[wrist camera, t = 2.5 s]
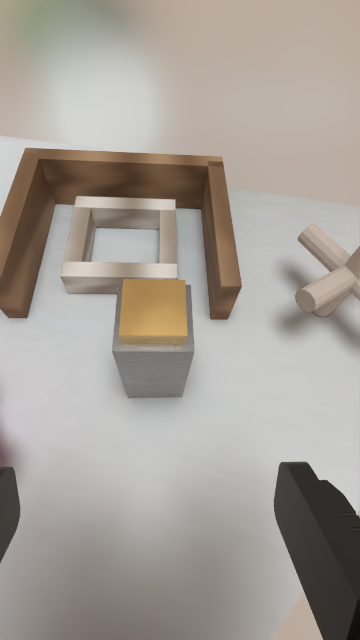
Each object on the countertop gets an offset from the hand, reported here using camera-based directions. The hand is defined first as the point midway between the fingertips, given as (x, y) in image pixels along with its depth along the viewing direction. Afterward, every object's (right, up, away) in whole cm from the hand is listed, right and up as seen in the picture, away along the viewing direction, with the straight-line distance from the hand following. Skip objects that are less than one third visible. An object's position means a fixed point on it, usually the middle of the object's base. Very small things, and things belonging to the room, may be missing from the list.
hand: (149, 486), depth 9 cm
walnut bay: (-4, +12, +20) cm, 23 cm away
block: (-1, +1, +14) cm, 14 cm away
